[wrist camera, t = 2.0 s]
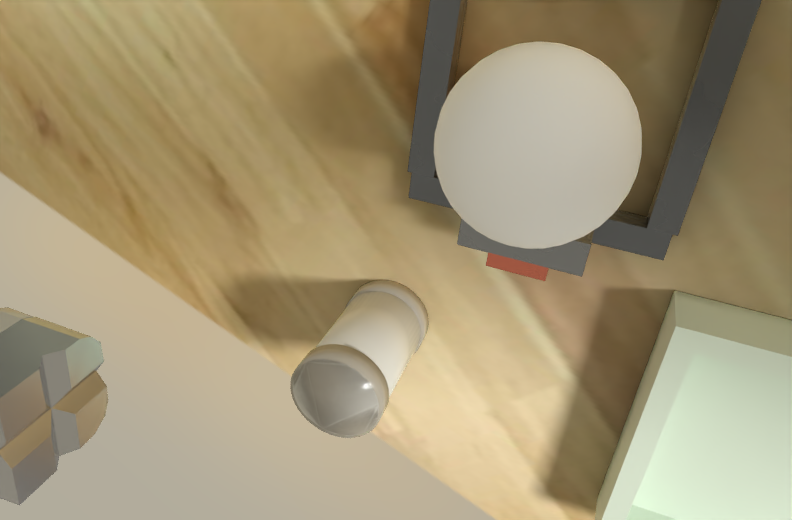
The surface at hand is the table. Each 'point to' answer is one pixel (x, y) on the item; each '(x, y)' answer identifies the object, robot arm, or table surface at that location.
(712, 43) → the frame
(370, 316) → the fuse
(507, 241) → the lightbulb
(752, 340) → the tray
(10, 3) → the table surface
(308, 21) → the table surface
